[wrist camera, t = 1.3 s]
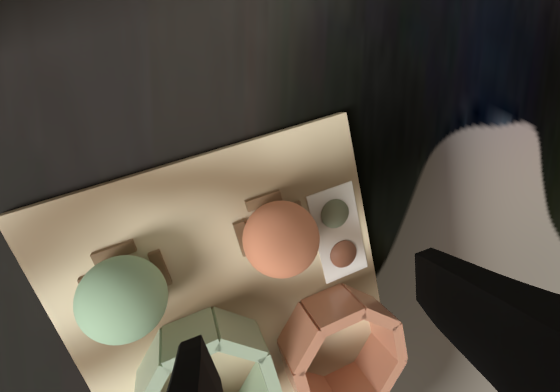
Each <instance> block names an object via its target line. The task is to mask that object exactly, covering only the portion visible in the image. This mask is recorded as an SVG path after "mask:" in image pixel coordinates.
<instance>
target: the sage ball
mask: <svg viewBox="0 0 560 392" xmlns="http://www.w3.org/2000/svg"><path fill="white" fill-rule="evenodd" d="M167 302H168V287H167V283H166V280H165V278H164V276H163V274H162V273H161V271H160V270H159V269H158V268H157V267H156V266H155V265H154V264H153V263H151V262H150V261H148V260H146V259H144V258H141V257H138V256H133V255H120V256H115V257H111V258H108V259H106V260H103V261H102V262H100V263H98V264H96V265H95V266H94V267H92V268H91V269H90V270H89V271H88V272H87V273H86V274H85V275H84V277H83V278H82V279H81V281H80V283H79V284H78V286H77V289H76V291H75V295H74V300H73V312H74V316H75V320H76V322H77V324H78V326H79V327H80V329H81V330H82V331H83V332H84V334H85V335H87V336H88V337H89V338H91V339H92V340H94V341H96V342H99V343H102V344H106V345H124V344H129V343H132V342H135V341H137V340H139V339H141V338H143V337H144V336H146V335H147V334H148V333H150V332H151V331H152V330H153V329H154V328H155V327H156V326H157V324H158V323H159V322H160V320H161V318H162V317H163V315H164V313H165V310H166V307H167Z"/></svg>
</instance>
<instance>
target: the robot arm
mask: <svg viewBox="0 0 560 392" xmlns="http://www.w3.org/2000/svg"><path fill="white" fill-rule="evenodd" d="M415 272H416V300H417V301H418V302H419V304H420V305H421V307H422V308H423V309H424V311H425V312H426V314H427V315H428V316H429V318H430V319H431V320H432V322H433V323H434V324H435V325H436V327H437V328H438V329H439V330H440V331H441V332H442V333H443V334H444V335H445V336H446V337H447V338H448V339H449V340H450V342H451V343H452V344H453V345H454V346H455V347H456V348H457V349H458V350H459V351H460V352H461V353H462V354H463V355H464V356H465V357H466V358H467V359H468V360H469V361H470V362H471V364H473V366H474V367H475V368H476V369H477V370H478V371H479V372H480V373H481V374H482V375H483V376H484V377H485V378H486V379H487V380H488V381H489V382H490V383H491V384H492V385H493V387H495V389H496V390H497V391H498V392H560V294H556V293H553V292H550V291H547V290H544V289H541V288H538V287H535V286H531V285H529V284H526V283H523V282H520V281H517V280H514V279H511V278H509V277H506V276H503V275H501V274H498V273H495V272H493V271H490V270H487V269H485V268H482V267H480V266H477V265H475V264H472V263H470V262H467V261H464V260H462V259H459V258H457V257H454V256H452V255H449V254H447V253H444V252H441V251H439V250H436V249H433V248H429V249H426V250H424V251H421V252H419V253H416V254H415ZM166 392H223V388H222V383H221V378H220V376H219V374H218V371H217V369H216V367H215V365H214V362H213V360H212V358H211V356H210V353H209V351H208V349H207V346H206V344H205V342H204V340H203V337H202V335H198V336H196V337H193V338H190V339H188V340H185V341H182V342H181V343H180V344H179V346H178V350H177V354H176V358H175V362H174V366H173V370H172V374H171V377H170V381H169V384H168V388H167V391H166Z"/></svg>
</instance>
